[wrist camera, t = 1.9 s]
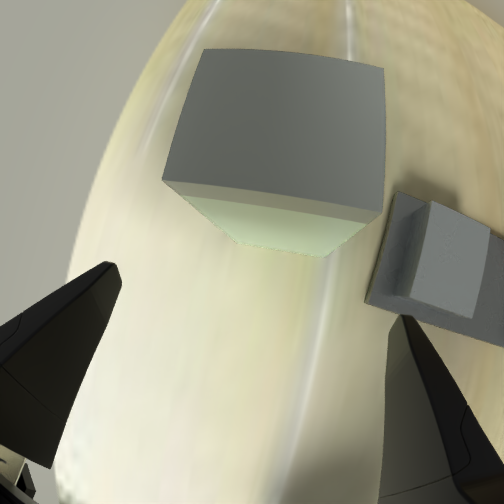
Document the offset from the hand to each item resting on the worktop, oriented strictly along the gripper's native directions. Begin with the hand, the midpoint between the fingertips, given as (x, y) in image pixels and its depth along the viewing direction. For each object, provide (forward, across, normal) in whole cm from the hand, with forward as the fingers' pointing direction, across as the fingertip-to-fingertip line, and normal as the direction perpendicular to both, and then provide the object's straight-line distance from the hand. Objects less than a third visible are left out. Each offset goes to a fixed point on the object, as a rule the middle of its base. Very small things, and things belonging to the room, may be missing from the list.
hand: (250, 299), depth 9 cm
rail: (+10, -18, +6) cm, 21 cm away
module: (+12, 0, +4) cm, 13 cm away
